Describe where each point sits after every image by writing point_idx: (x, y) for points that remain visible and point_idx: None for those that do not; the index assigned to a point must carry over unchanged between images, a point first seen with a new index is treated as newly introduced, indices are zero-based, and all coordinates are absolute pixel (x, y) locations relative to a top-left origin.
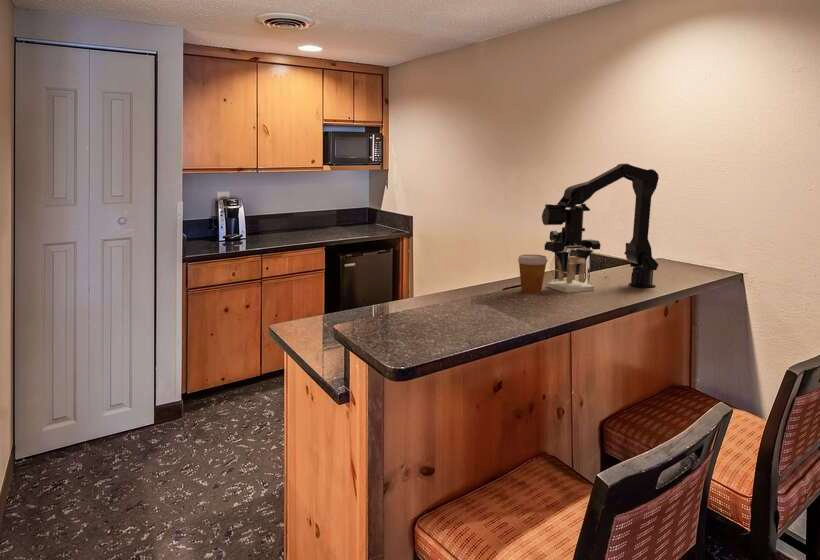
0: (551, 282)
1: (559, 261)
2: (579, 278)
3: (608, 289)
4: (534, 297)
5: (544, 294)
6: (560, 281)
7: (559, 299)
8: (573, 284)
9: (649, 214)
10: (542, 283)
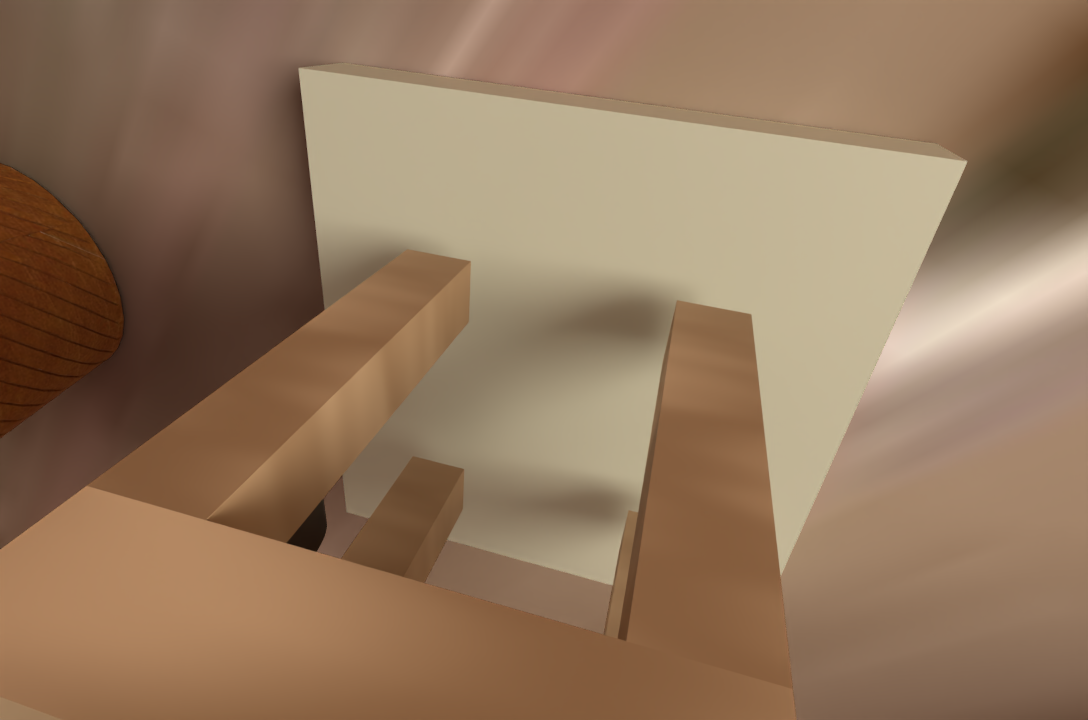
0: (362, 122)
1: (88, 511)
2: (618, 566)
3: (990, 641)
4: (24, 431)
5: (137, 402)
6: (583, 122)
7: None
8: (588, 427)
9: None
10: (17, 423)
